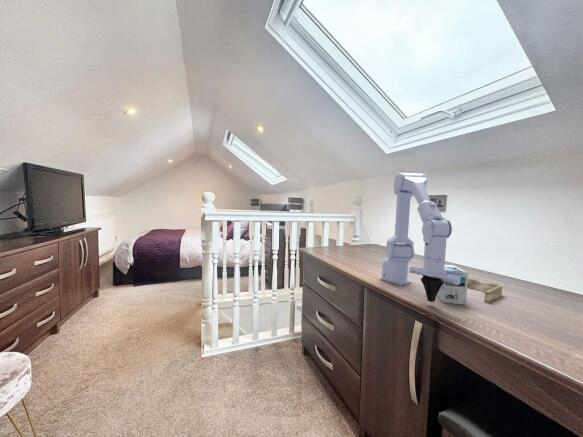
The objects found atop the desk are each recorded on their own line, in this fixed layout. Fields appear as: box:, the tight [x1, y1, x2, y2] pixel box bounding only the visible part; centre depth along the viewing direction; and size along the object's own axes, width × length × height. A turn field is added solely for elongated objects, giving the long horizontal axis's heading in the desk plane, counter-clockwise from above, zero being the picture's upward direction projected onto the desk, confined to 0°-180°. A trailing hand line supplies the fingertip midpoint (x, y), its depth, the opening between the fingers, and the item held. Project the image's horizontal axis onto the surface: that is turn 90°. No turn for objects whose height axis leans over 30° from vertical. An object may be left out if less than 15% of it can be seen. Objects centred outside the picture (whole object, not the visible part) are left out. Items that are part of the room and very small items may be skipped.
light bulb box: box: [436, 264, 469, 306], centre depth 86 cm, size 11×7×11 cm, turn 168°
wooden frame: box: [467, 277, 503, 304], centre depth 94 cm, size 18×14×4 cm
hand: (431, 300), depth 79 cm, fingers closed
